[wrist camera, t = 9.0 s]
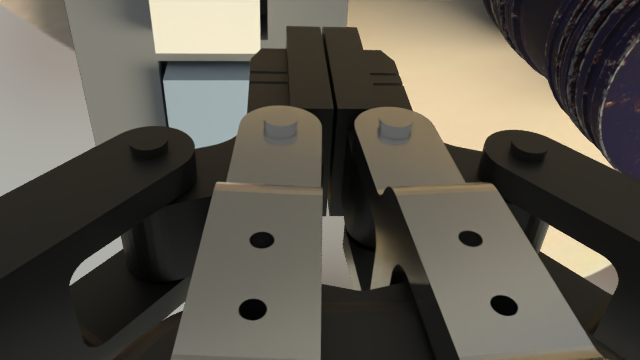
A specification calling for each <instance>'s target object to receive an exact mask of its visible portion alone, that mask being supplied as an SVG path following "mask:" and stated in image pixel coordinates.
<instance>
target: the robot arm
mask: <svg viewBox="0 0 640 360" xmlns="http://www.w3.org/2000/svg"><path fill="white" fill-rule="evenodd" d="M402 84H403V83H402V81H401V78H400V76H399V73H398V70H397V67H396V65H395V62H394V61H393V60H392V59H391V58H389V57H388V56H387V55H386V54H384V53H383V52H382V51H381V50H363V47H362V43H361V40H360V36H359V33H358V30H357V28H356V27H322V33H321V28H320V27H312V26H286V49H276V48H261V49H260V50H259V51H258V52H257V53H256V54H255V55H254V56H253V57H252V58H251V61H250V76H249V91H248V106H247V114H246V115H245V116H244V117H243V118H242V120H241V121H240V124H239V128H238V132H237V135H236V136H235V137H233V138H232V139H230V140H227V141H225V142H222V143H219V144H216V145H212V146H207V147H201V148H196V149H195V144H194V141H193V140H192V138H191V137H190V136H189V135H188V134H186V133H185V132H183V131H181V130H178V129H175V128H171V127H165V126H146V127H139V128H135V129H131V130H128V131H125V132H123V133H121V134H119V135H117V136H115V137H113V138H111V139H109V140H107V141H105V142H104V143H102V144H100V145H98V146H96V147H94V148H92V149H90V150H88V151H87V152H85V153H83V154H81V155H79V156H77V157H75V158H73V159H71V160H69V161H67V162H65V163H64V164H62V165H60V166H58V167H56V168H54V169H52V170H50V171H48V172H47V173H45V174H43V175H41V176H39V177H37V178H35V179H33V180H31V181H29V182H27V183H26V184H24V185H22V186H20V187H18V188H16V189H14V190H12V191H10V192H9V193H6V194H5V195H3V196H1V197H0V360H640V182H639V181H637V180H635V179H633V178H631V177H629V176H627V175H624V174H622V173H620V172H618V171H616V170H614V169H612V168H610V167H608V166H606V165H604V164H602V163H600V162H598V161H596V160H593V159H591V158H589V157H587V156H585V155H583V154H581V153H579V152H577V151H575V150H573V149H571V148H569V147H567V146H565V145H562V144H560V143H558V142H556V141H554V140H552V139H550V138H548V137H545V136H543V135H540V134H537V133H533V132H529V131H523V130H505V131H500V132H496V133H494V134H492V135H490V136H489V137H488V138H487V139H486V141H485V144H484V148H483V152H481V151H476V150H471V149H466V148H461V147H456V146H452V145H449V144H446V143H443V141H442V139H441V137H440V136H439V134H438V132H437V130H436V128H435V127H434V125H433V124H432V122H431V121H430V120H429V119H427V118H426V117H424V116H423V115H421V114H419V113H417V112H414V111H413V110H412V107H411V105H410V102H409V99H408V97H407V94H406V91H405V89H404V86H402ZM327 199H328V207H329V215H330V216H344V221H345V226H344V237H343V249H344V254H345V258H346V262H347V266H348V270H349V274H350V278H351V282H352V286H353V290H351V289H346V288H340V287H335V286H329V285H324V284H321V283H322V216H326V209H327ZM549 225H551V226H553V227H554V228H556V229H558V230H559V231H561V232H563V233H565V234H566V235H568V236H570V237H572V238H573V239H575V240H577V241H578V242H580V243H582V244H584V245H585V246H587V247H589V248H591V249H592V250H594V251H596V252H597V253H599V254H601V255H602V256H604V257H605V258H607V259H608V260H609V261H610V262H611V263H612V264H613V266H614V267H615V269H616V271H617V274H618V277H619V282H618V286H617V288H616V290H615V293H614V294H613V295H611V294H609V293H607V292H605V291H604V290H602V289H601V288H599V287H597V286H596V285H594V284H592V283H591V282H589V281H587V280H586V279H584V278H583V277H581V276H579V275H578V274H576V273H575V272H573V271H571V270H570V269H568V268H566V267H565V266H563V265H562V264H560V263H558V262H557V261H555V260H553V259H552V258H550V257H548V256H547V255H545V254H544V253H542V252H540V249H541V246H542V243H543V240H544V238H545V235H546V232H547V230H548V227H549ZM119 236H121V239H122V243H123V248H124V249H122V250H121V251H119V252H118V253H117V254H115V255H114V256H112V257H111V258H109V259H108V260H107V261H105V262H104V263H102V264H101V265H99V266H98V267H96V268H95V269H93V270H92V271H91V272H89V273H88V274H86V275H85V276H83V277H82V278H80V279H79V280H78V281H76V282H75V283H73V284H72V285H70V286H69V284H70V280H71V277H72V275H73V273H74V271H75V270H76V268H77V267H78V266H79V265H80V264H81V263H82V262H83V261H84V260H85V259H87V258H88V257H90V256H91V255H92V254H94V253H96V252H97V251H99V250H100V249H102V248H103V247H105V246H106V245H107V244H109V243H110V242H112V241H113V240H115V239H116V238H118V237H119ZM184 302H185V305H184V309H183V311H181V312H179V313H176V314H174V315H172V316H170V317H168V318H166V317H167V316H168V315H169V314H171V313H172V312H173V311H174V310H175V309H176V308H178V307H179V306H180V305H181V304H182V303H184ZM165 318H166V319H165ZM164 319H165V320H164ZM162 320H163V321H162Z"/></svg>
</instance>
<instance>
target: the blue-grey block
mask: <svg viewBox="0 0 640 360" xmlns="http://www.w3.org/2000/svg"><path fill="white" fill-rule="evenodd" d="M249 76H250V61H168V63H167V67H166V71H165V75H164V79H163V84H164V92H165V100H166V108H167V116H168V124H169V127H171V128H175V129H178V130H181V131H183V132H185V133H186V134H188V135H189V136H190V137H191V138H192V140H193V141H194V144H195V149H196V148H201V147H207V146H212V145H216V144H219V143H222V142H225V141H227V140H230V139H232V138H233V137H235V136H236V135H237V132H238V128H239V124H240V121H241V120H242V118H243V117H244V116H245V115H246V114H247V106H248V91H249Z"/></svg>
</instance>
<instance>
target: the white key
mask: <svg viewBox="0 0 640 360" xmlns="http://www.w3.org/2000/svg"><path fill="white" fill-rule="evenodd" d="M149 6H150V14H151V22H152V29H153V37H154V45H155V52H156V53H187V54H256V53H257V52H258V51H259V50H260V49H261V48H260V0H149Z"/></svg>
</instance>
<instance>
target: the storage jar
mask: <svg viewBox="0 0 640 360" xmlns="http://www.w3.org/2000/svg"><path fill="white" fill-rule="evenodd" d="M483 2H484V5H485V7H486V10H487V12H488V14H489V16H490V17H491V19H492V20H493V22H494V23H495V24H496V26H497V27H498V28H499V29H500V31H501V33H502V35H503V36H504V38H505V39H506V41H507V42H508V43H509V45H510V46H511V47H512V48H513V49H514V50H515V52H516V53H517V54H518V55H519V56H520V57H521V58H523V59H524V60H525V61H526V62H527V63H528V64H529V65H530V66H531V67H532V68H533V69H534V70H535V71H537V72H538V73H540V74H541V75H543V76H545V78H546V79H547V80H548V82H549V85H550V88H551V90H552V92H553V95H554V97H555V99H556V101H557V102H558V104H559V105H560V107H561V108H562V109H563V110H564V112H565V113H566V114H567V115H568V116H569V117H570V119H571V120H572V122H573V123H574V124H575V125H576V127H577V128H578V129H579V130H580V131H581V133H582V134H583V135H584V136H585V137H586V138H587V139H588V140H589V141H590V142H592V143H593V144H594V145H595V146H596V147H597V148H598V149H599V150H600V151H601V153H602V155H603V156H604V157H605V158H606V160H607V161H608V162H609V163H610V164H611V166H612V167H613V168H614V169H615V170H616V171H618V172H620V173H622V174H624V175H627V176H629V177H631V178H633V179H635V180H637V181H639V182H640V0H483Z"/></svg>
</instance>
